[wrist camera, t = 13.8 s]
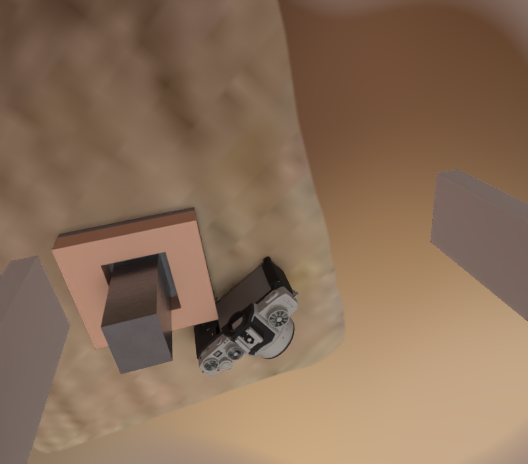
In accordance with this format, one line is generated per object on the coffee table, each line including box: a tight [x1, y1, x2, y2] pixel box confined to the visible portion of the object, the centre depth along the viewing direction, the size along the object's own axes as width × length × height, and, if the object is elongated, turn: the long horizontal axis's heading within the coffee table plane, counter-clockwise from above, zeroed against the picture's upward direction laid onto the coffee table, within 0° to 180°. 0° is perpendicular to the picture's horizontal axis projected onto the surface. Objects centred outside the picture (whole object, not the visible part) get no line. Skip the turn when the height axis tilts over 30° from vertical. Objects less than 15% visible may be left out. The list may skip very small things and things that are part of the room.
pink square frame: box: [52, 208, 218, 349], centre depth 47 cm, size 14×15×4 cm
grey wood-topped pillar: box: [101, 253, 173, 374], centre depth 43 cm, size 6×5×12 cm
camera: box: [194, 257, 299, 376], centre depth 50 cm, size 16×9×10 cm, turn 131°
